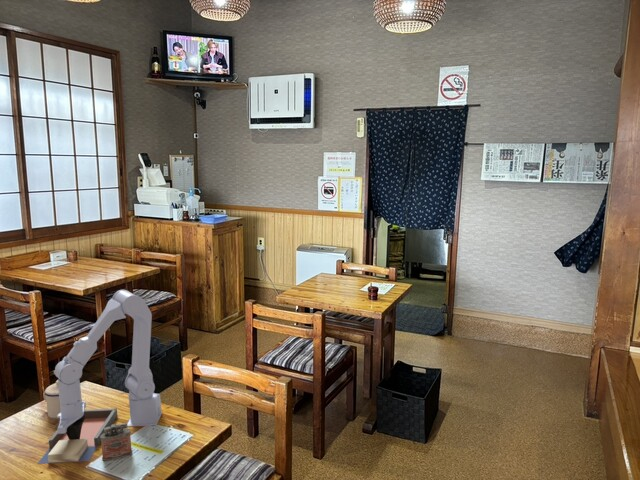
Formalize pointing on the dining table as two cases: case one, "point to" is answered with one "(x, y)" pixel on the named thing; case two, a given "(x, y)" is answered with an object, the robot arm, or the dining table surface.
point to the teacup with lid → (52, 400)
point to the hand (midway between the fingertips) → (75, 442)
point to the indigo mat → (84, 457)
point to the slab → (68, 450)
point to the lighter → (116, 442)
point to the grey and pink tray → (90, 426)
